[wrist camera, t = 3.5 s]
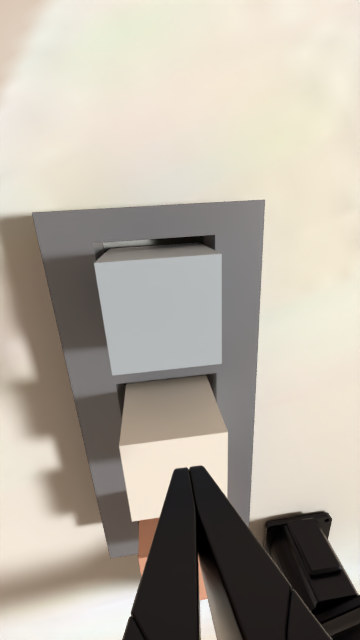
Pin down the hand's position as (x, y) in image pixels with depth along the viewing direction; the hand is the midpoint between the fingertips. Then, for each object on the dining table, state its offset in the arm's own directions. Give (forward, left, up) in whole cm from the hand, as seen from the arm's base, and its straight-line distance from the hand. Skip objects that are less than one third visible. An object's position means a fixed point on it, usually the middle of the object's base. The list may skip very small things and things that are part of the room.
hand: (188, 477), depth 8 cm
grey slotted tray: (-5, 0, -12) cm, 13 cm away
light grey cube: (+3, 0, -10) cm, 11 cm away
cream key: (-5, 0, -9) cm, 11 cm away
